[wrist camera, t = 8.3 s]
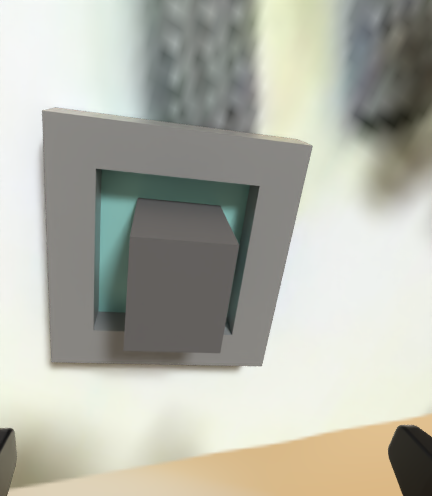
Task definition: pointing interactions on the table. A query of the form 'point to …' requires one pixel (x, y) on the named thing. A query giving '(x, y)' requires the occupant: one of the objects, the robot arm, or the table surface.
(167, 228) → the block
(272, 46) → the table surface
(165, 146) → the socket
